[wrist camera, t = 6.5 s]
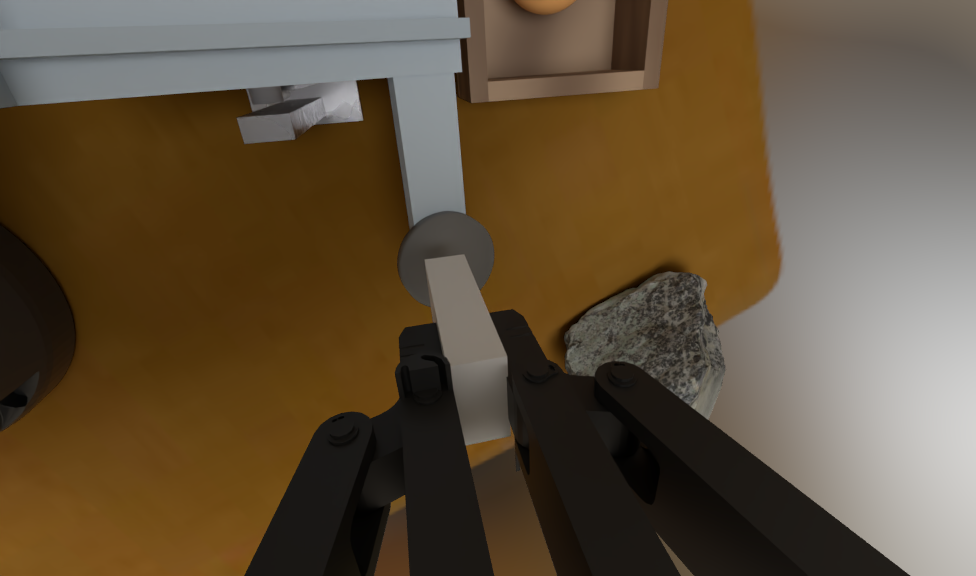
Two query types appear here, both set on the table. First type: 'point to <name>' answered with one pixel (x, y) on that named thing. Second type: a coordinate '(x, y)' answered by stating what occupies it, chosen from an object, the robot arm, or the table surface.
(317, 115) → the pivot stand
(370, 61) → the seesaw
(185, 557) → the table surface
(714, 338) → the stone
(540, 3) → the ball
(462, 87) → the tray
